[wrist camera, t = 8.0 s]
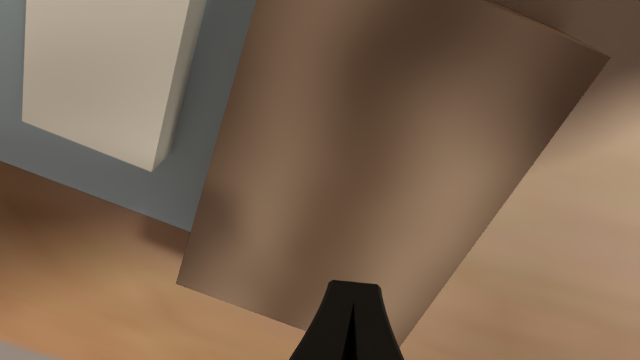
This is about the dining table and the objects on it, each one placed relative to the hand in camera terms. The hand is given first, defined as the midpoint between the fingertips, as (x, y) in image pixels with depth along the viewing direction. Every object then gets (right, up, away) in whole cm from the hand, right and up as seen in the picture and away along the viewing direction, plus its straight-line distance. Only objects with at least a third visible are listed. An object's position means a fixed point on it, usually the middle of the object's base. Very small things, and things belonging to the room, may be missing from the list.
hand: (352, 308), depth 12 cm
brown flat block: (+1, +5, +9) cm, 10 cm away
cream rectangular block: (-10, +9, +5) cm, 14 cm away
